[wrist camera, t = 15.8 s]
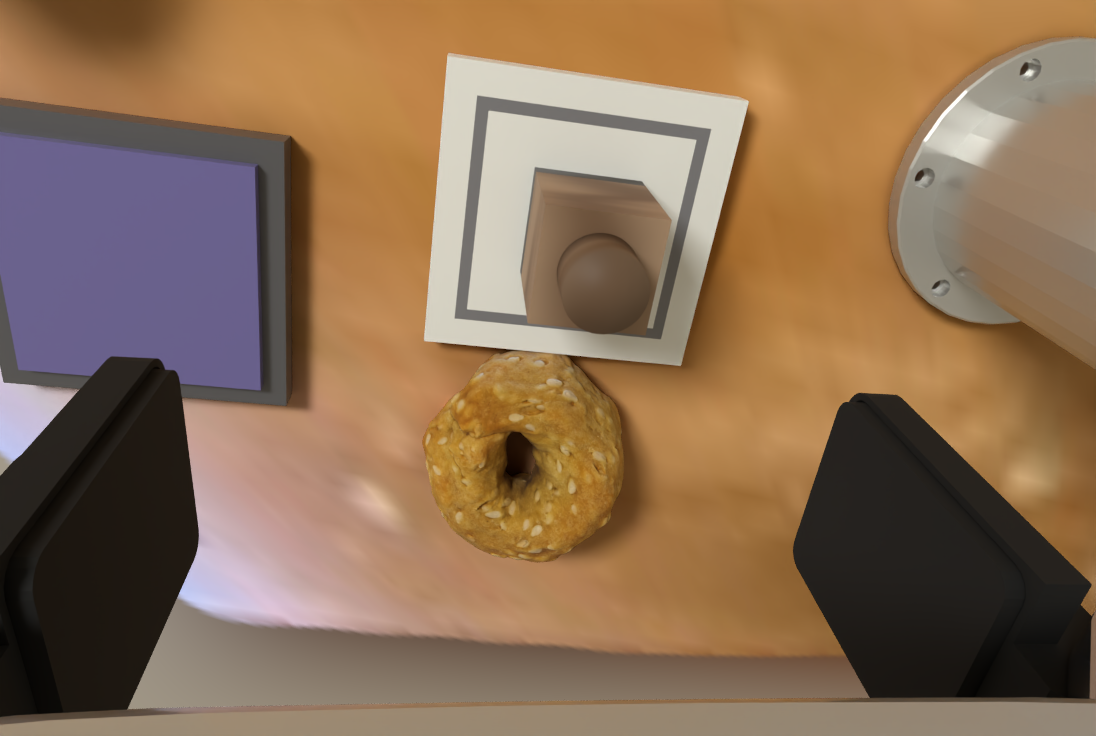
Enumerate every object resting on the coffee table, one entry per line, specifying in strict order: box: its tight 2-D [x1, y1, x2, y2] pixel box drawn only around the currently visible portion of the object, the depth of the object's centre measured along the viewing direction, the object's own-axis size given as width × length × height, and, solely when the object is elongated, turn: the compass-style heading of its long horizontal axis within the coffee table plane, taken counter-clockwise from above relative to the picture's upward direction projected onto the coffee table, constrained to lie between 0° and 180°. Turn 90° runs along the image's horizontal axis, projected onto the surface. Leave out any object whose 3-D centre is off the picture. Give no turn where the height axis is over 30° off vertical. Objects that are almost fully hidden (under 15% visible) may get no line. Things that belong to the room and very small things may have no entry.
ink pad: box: [0, 98, 292, 406], centre depth 32 cm, size 12×12×2 cm
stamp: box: [520, 167, 672, 335], centre depth 29 cm, size 4×4×8 cm
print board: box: [424, 53, 749, 366], centre depth 33 cm, size 12×12×1 cm
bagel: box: [422, 350, 624, 562], centre depth 37 cm, size 10×11×5 cm
